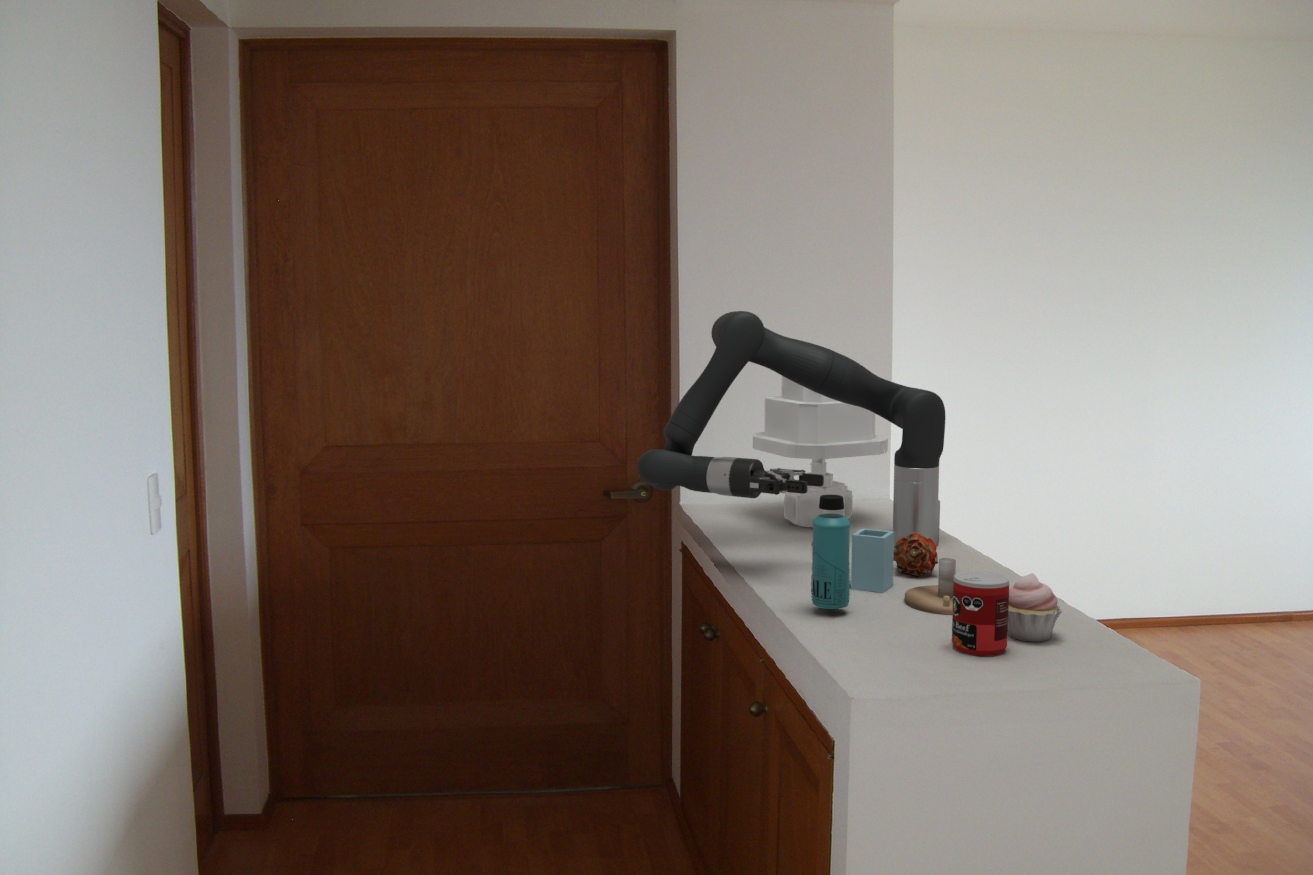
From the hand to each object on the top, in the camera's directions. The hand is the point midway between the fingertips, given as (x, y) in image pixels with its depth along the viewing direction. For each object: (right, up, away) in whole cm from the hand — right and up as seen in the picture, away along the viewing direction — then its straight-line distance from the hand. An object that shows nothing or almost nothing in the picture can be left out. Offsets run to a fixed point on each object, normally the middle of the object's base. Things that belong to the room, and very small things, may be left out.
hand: (815, 484), depth 198 cm
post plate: (+21, -20, -13) cm, 32 cm away
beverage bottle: (0, -21, -18) cm, 28 cm away
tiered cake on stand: (+8, -11, +53) cm, 55 cm away
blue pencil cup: (+10, -19, -3) cm, 21 cm away
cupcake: (+29, -22, -31) cm, 48 cm away
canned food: (+19, -23, -37) cm, 48 cm away
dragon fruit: (+20, -17, +7) cm, 27 cm away
